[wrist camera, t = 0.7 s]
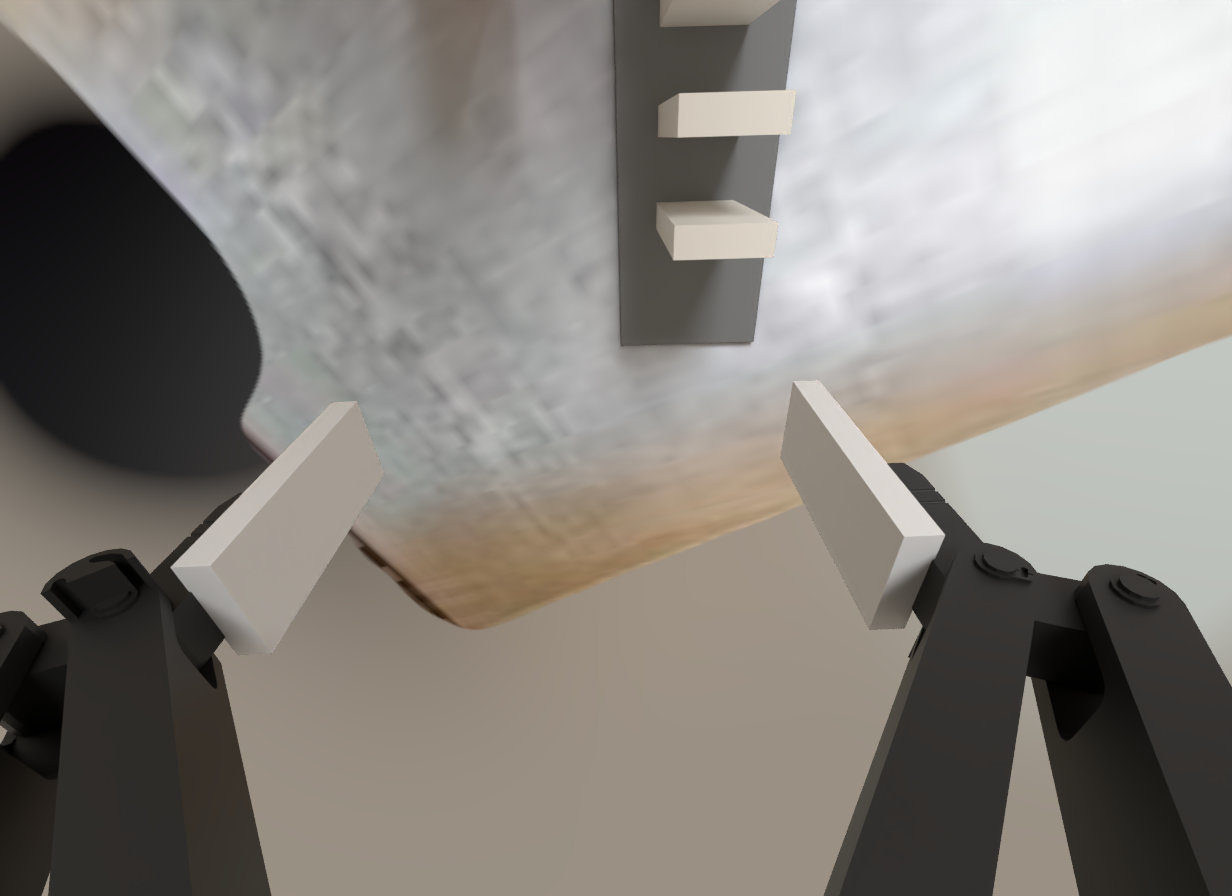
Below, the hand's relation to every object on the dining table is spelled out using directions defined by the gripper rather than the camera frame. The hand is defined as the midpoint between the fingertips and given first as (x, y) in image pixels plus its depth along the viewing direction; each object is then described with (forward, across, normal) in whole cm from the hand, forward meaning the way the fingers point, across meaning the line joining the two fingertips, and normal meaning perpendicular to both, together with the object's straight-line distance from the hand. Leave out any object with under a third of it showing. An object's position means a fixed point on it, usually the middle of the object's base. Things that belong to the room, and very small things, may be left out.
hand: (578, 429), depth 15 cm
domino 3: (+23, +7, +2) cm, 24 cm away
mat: (+23, +7, +7) cm, 25 cm away
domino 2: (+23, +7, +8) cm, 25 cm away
